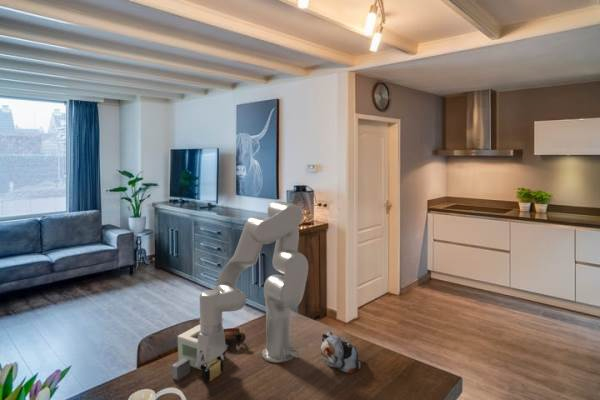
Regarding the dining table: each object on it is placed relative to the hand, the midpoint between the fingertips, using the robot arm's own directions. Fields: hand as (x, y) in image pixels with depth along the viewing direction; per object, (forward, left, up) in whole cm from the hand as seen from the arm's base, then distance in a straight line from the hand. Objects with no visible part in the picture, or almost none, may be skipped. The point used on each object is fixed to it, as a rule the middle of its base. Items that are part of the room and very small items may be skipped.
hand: (212, 374), depth 134 cm
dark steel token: (+10, +5, -1) cm, 11 cm away
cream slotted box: (+12, -7, -1) cm, 14 cm away
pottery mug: (+8, -21, -1) cm, 23 cm away
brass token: (0, 0, -1) cm, 1 cm away
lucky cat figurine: (-36, -29, -1) cm, 46 cm away
